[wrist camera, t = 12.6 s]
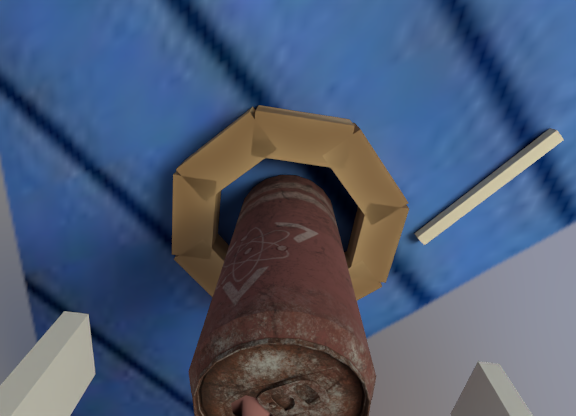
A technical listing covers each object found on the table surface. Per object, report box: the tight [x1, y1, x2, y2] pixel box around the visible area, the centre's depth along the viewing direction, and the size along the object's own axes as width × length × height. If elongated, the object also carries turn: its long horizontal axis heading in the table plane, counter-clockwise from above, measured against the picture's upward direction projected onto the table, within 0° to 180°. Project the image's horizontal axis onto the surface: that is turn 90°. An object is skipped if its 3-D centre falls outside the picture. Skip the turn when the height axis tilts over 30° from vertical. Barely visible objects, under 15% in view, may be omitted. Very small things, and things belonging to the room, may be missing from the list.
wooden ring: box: [172, 105, 409, 301], centre depth 23 cm, size 14×14×2 cm
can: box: [189, 175, 376, 416], centre depth 17 cm, size 6×6×14 cm
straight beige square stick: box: [414, 128, 564, 245], centre depth 22 cm, size 10×1×1 cm, turn 135°
